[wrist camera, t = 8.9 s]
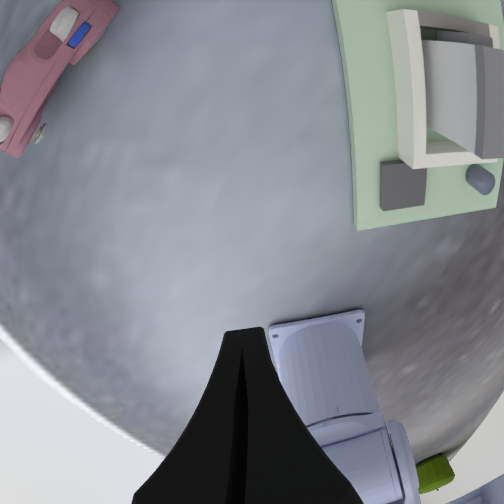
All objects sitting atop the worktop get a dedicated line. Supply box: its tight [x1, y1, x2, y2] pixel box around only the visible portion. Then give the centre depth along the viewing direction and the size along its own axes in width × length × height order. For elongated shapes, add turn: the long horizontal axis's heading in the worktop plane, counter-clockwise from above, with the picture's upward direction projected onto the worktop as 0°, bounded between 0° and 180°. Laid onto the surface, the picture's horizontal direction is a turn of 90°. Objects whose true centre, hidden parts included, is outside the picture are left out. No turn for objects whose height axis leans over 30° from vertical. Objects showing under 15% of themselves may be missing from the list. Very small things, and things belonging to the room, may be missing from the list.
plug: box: [421, 31, 504, 159], centre depth 11 cm, size 6×4×6 cm, turn 10°
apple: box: [416, 455, 455, 494], centre depth 62 cm, size 12×12×11 cm
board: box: [332, 0, 504, 231], centre depth 14 cm, size 16×12×3 cm
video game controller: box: [0, 0, 120, 158], centre depth 11 cm, size 10×5×7 cm, turn 132°
